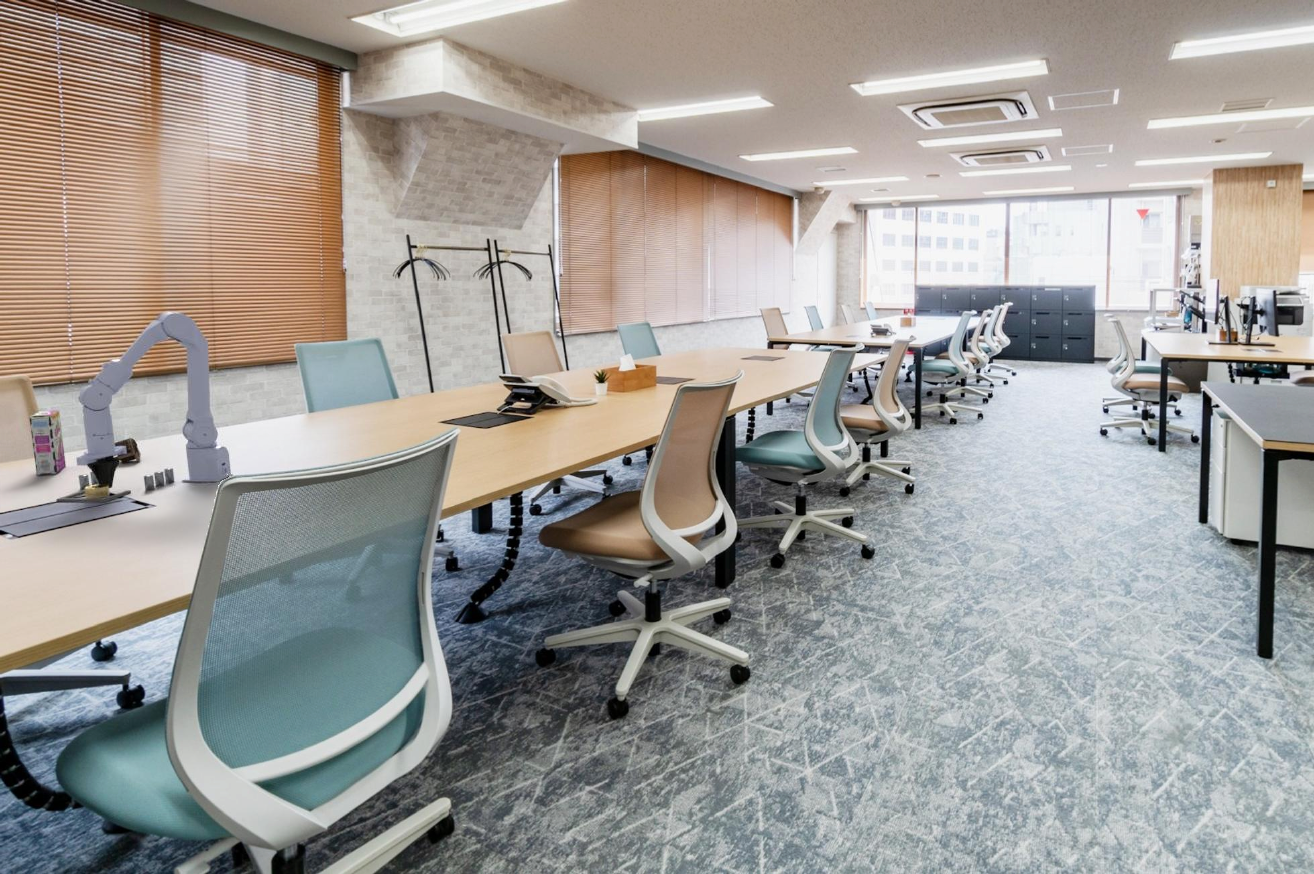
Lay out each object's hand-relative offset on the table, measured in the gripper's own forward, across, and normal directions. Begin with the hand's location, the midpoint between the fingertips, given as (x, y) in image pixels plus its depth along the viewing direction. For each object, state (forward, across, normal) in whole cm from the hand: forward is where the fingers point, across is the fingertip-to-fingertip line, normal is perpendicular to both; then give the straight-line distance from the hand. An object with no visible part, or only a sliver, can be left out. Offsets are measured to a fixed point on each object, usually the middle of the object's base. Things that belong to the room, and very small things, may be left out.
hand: (106, 488), depth 204 cm
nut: (+1, +3, 0) cm, 3 cm away
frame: (+1, +4, 0) cm, 4 cm away
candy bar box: (+2, -23, -33) cm, 40 cm away
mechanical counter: (+2, -35, -23) cm, 42 cm away
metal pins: (+1, -8, 0) cm, 8 cm away
